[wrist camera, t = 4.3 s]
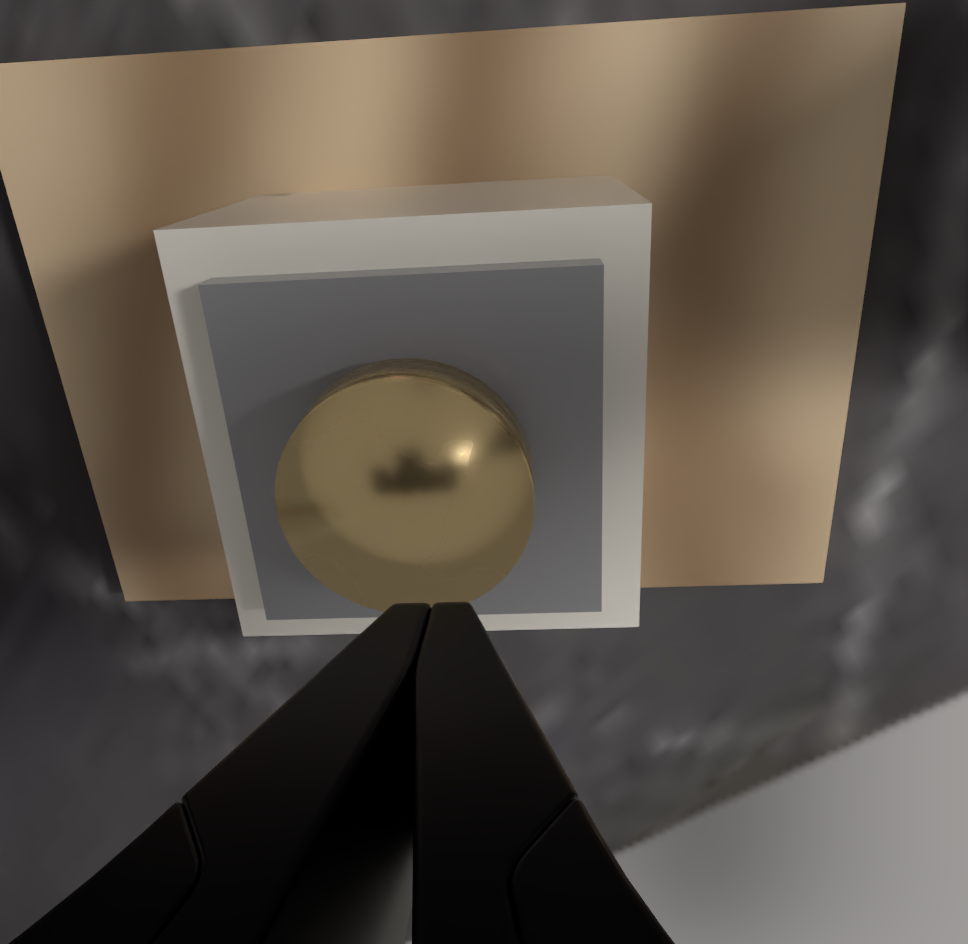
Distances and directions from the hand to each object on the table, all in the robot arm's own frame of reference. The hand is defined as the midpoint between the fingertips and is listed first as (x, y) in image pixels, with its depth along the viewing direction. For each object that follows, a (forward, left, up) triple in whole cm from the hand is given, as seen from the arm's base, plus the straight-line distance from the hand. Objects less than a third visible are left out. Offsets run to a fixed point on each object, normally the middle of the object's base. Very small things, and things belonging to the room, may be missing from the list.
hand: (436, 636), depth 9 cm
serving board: (+1, 0, -13) cm, 13 cm away
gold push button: (+1, 0, -11) cm, 11 cm away
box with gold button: (+1, 0, -12) cm, 12 cm away
